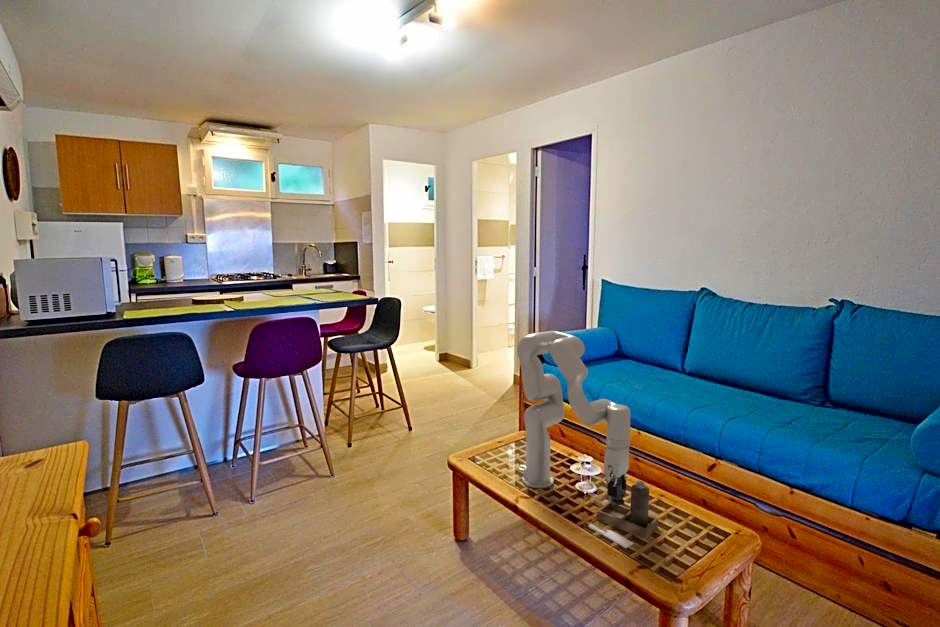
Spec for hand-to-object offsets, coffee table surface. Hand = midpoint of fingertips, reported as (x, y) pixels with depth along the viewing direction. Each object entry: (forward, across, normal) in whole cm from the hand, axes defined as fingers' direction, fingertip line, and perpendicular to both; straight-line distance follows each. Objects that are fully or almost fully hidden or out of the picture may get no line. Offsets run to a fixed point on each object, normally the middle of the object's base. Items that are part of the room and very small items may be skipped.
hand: (616, 492), depth 166 cm
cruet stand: (+10, 0, +4) cm, 10 cm away
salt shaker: (+3, 0, 0) cm, 3 cm away
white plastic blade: (+10, +9, +3) cm, 14 cm away
